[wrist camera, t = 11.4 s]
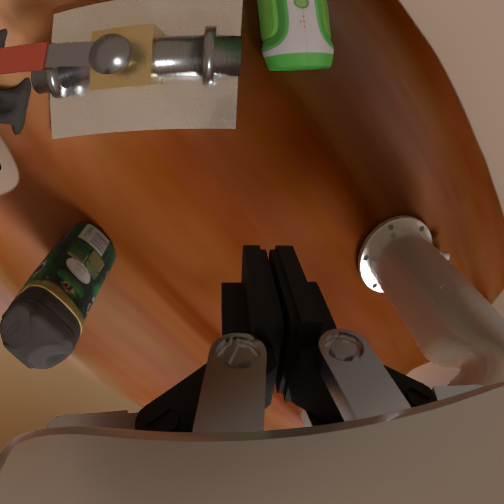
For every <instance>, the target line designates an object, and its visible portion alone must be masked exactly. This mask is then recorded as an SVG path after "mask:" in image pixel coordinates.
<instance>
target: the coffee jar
mask: <svg viewBox="0 0 504 504" xmlns="http://www.w3.org/2000/svg"><path fill="white" fill-rule="evenodd" d="M115 257H116V255H115V250H114V247H113V245H112V244H111V242H110V241H109V239H108V238H107V237H106V236H105V234H104V233H103V232H101V231H100V230H99V229H98V228H97V227H95V226H94V225H92V224H89V223H80V224H77V225H76V226H74V227H73V228H72V229H70V230H69V231H68V232H67V233H66V234H65V235H64V236H63V237H62V238H61V239H60V240H59V241H58V243H57V244H56V245H55V246H54V247H53V249H52V250H51V251H50V252H49V254H48V255H47V256H46V258H45V259H44V260H43V261H42V263H41V264H40V265H39V266H38V268H37V269H36V270H35V272H34V273H33V274H32V275H31V277H30V278H29V279H28V281H27V282H26V283H25V285H24V286H23V288H22V289H21V290H20V292H19V293H18V294H17V296H16V297H15V299H14V300H13V302H12V303H11V305H10V306H9V308H8V309H7V311H6V312H5V313H4V314H3V315H2V320H1V323H0V334H1V338H2V341H3V345H4V346H5V348H7V350H8V351H9V352H11V353H12V354H13V355H14V356H15V357H16V358H17V359H18V360H20V361H21V362H22V363H23V364H25V365H26V366H27V367H28V368H36V369H47V368H51V367H53V366H55V365H57V364H58V363H60V362H62V361H63V360H64V359H66V358H67V357H68V356H69V355H70V354H71V353H72V352H73V350H74V349H75V345H76V343H77V341H78V339H79V337H80V335H81V333H82V329H83V324H84V321H85V318H86V316H87V314H88V312H89V309H90V307H91V305H92V303H93V301H94V299H95V297H96V295H97V293H98V291H99V289H100V287H101V285H102V283H103V282H104V280H105V278H106V276H107V274H108V273H109V271H110V269H111V267H112V265H113V263H114V261H115Z"/></svg>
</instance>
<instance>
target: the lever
mask: <svg viewBox="0 0 504 504" xmlns="http://www.w3.org/2000/svg"><path fill="white" fill-rule="evenodd" d="M132 56H133V47H132V44H131V42H130V41H129V40H128V39H127V38H125V37H123V36H121V35H119V34H115V33H111V34H106V35H103V36H102V37H100V38H99V39H97V40H96V41H92V42H69V43H51V42H41V43H33V44H25V45H19V46H12V47H6V48H1V49H0V74H7V73H16V72H26V71H38V70H50V68H51V67H79V66H91V67H92V68H93V70H95V71H96V72H98V73H101V74H116V73H119V72H121V71H122V70H124V69H125V68H126V67H127V66H128V64H129V63H130V61H131V59H132Z"/></svg>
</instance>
